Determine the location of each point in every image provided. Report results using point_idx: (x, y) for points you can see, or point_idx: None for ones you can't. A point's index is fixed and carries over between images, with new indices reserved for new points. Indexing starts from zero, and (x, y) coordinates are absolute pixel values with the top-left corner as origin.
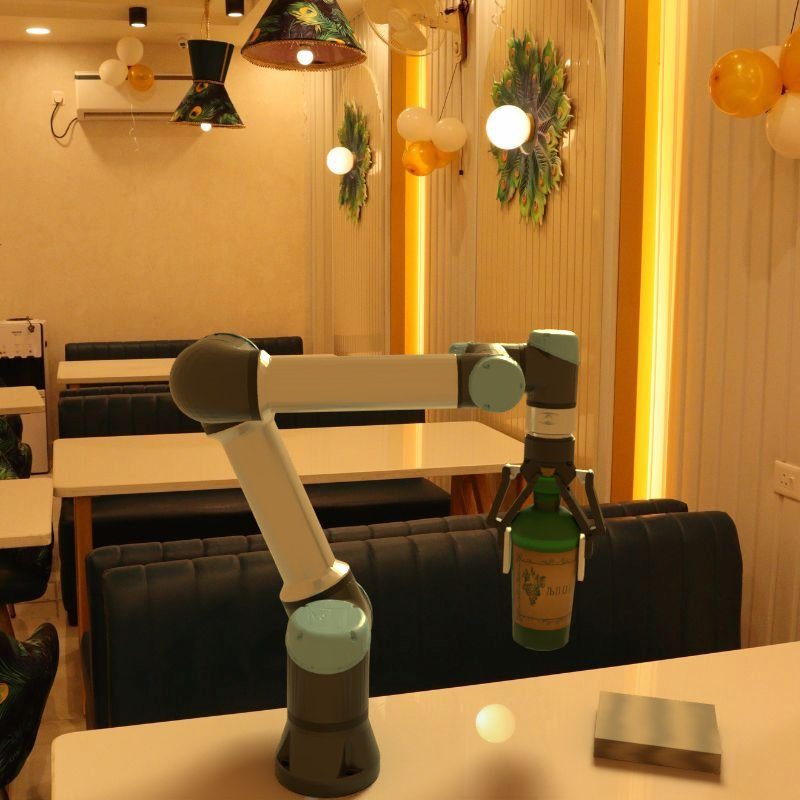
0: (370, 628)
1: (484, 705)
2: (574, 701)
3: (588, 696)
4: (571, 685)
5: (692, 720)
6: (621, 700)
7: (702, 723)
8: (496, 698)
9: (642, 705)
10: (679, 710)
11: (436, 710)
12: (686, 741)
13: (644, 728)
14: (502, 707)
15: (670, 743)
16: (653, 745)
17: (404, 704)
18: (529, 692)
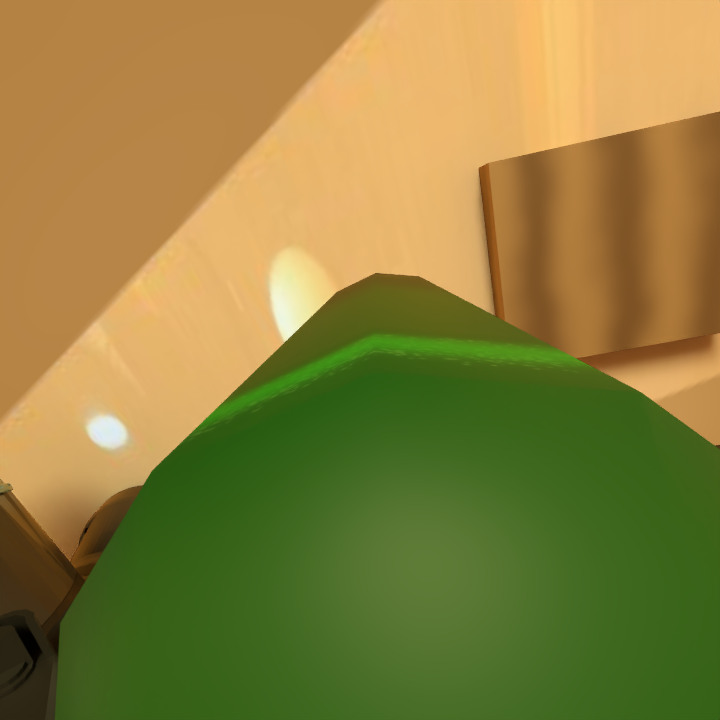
0: (13, 582)
1: (268, 267)
2: (424, 161)
3: (447, 119)
4: (399, 78)
5: (696, 214)
6: (541, 190)
7: (717, 218)
8: (276, 227)
9: (588, 192)
10: (670, 178)
11: (201, 327)
12: (678, 309)
13: (597, 294)
14: (301, 259)
15: (648, 330)
16: (616, 350)
17: (141, 332)
18: (326, 165)
